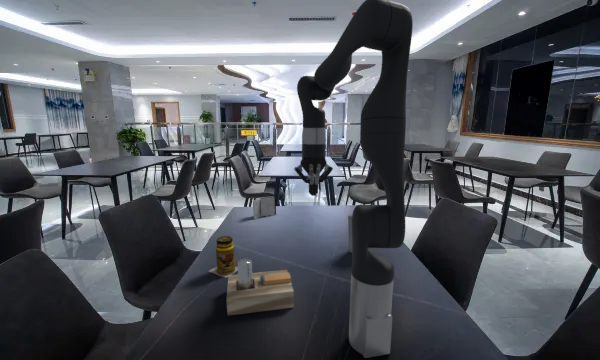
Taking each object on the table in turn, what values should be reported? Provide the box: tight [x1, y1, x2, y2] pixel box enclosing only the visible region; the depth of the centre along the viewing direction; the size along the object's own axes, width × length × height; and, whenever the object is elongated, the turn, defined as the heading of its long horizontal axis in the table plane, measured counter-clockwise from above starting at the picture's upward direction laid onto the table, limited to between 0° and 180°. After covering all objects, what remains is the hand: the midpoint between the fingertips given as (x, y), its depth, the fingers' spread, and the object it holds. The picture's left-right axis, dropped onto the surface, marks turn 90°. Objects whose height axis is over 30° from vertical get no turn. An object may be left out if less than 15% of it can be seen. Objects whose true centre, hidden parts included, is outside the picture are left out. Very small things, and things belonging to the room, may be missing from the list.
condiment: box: [208, 235, 238, 279], centre depth 99 cm, size 7×8×12 cm
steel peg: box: [237, 258, 253, 290], centre depth 82 cm, size 4×4×12 cm
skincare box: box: [347, 212, 375, 254], centre depth 113 cm, size 8×7×16 cm
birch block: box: [226, 269, 295, 317], centre depth 84 cm, size 12×18×5 cm, turn 101°
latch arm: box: [260, 272, 292, 285], centre depth 84 cm, size 9×3×1 cm, turn 101°
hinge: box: [252, 195, 277, 220], centre depth 158 cm, size 14×5×10 cm, turn 124°
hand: (313, 195), depth 95 cm, fingers closed
